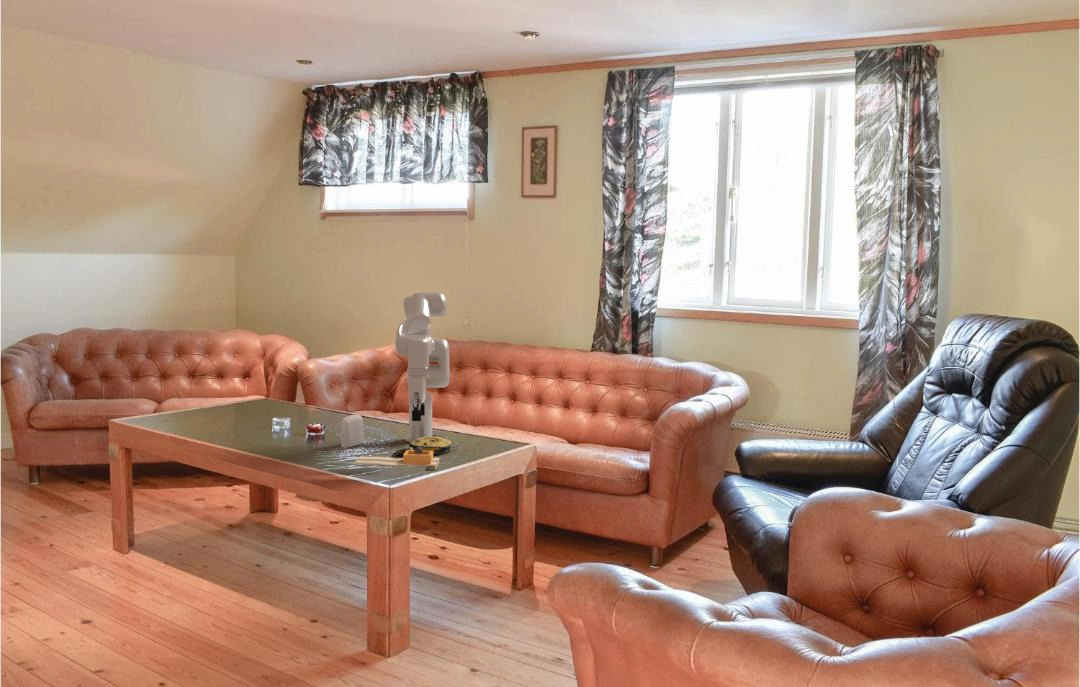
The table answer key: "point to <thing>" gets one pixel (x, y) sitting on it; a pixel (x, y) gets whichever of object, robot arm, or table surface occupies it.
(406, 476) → the table surface
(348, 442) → the photo printer
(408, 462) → the link
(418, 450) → the keeper board
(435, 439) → the pulley block
